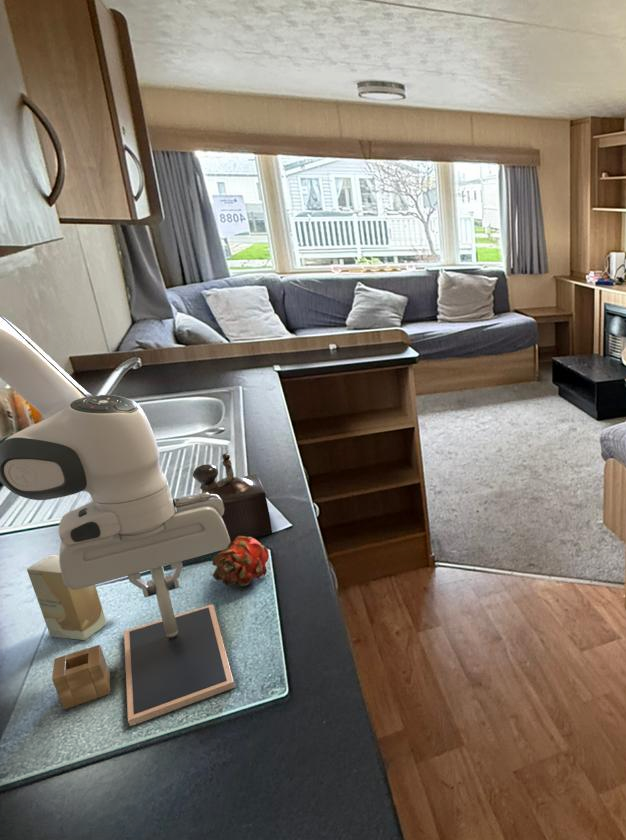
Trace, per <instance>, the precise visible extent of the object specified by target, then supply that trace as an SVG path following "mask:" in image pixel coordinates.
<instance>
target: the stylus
mask: <svg viewBox="0 0 626 840" xmlns="http://www.w3.org/2000/svg"><path fill="white" fill-rule="evenodd" d="M149 571H150V575H151V580H153V584H154V587H155V591H156V595H155V597H156V600H157V601H156V602H157V605H158V609H159V612H160V617H161V620H162V622H163V626H164V630H165V634H166V636H167V637H174V636H176V635H177V633H178V628H177V624H176V620H175V615H176V614H175V611H174V607H173V603H172V599H171V595H170V591H168V586H167V584H166V577H165V576H166V573H165V570H164V566H162V567H158V568H155V569H151V570H149Z"/></svg>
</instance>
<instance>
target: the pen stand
mask: <svg viewBox="0 0 626 840" xmlns="http://www.w3.org/2000/svg"><path fill="white" fill-rule="evenodd" d="M51 681H52V684H53V686H54V689H55V691H56V693H57V696H58V699H59V701H60V703H61V705H62V708H63V710H67V709H70V708H74V707H76V706H79V705H82V704H84V703H87V702H88V703H89V702H91V701H93V700H96V699H99V698H102V697H106V696H108V695H110V694H111V672H110V669H109V667H108V664H107V660H106V658H105V655H104V652H103V650H102V646H101V644H97V645H94V646H90V647H88V648H83V649H80V650H77V651H75V652H71V653H68V654H64V655H61V656H59V657H55V658H54V659H53V669H52V678H51Z"/></svg>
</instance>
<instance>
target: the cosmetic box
mask: <svg viewBox="0 0 626 840" xmlns="http://www.w3.org/2000/svg"><path fill="white" fill-rule="evenodd" d="M26 572H27V575H28V577H29V580H30V583H31V586H32V589H33V591H34V594H35V597H36V600H37V603H38V605H39V609H40V611H41V614H42V617H43V619H44V623H45V625H46V628H47V631H48V634H49V636H50V637H54V638H55V637H56V638H61V639H71V640H81V641H85V640H87V639H88V638H90V637H91V636H93V635H95V634H96V633H97V632H98V631H99V630H101V629H102V628H103V627H105V626H106V625H108V622H107V618H106V615H105V612H104V609H103V606H102V602H101V599H100V595H99V593H98V589H97V585H93V586H89V587H85V588H82V589H78V590H73V589H70V588H68V587H66V586H65V584H64V582H63V578H62V574H61V569H60V562H59V554H50V555H48V556H46V557H44V558H42V559H41V560H39V561H37V562H36V563H34V564H32V565H30V566H29V567H27V568H26Z"/></svg>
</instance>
